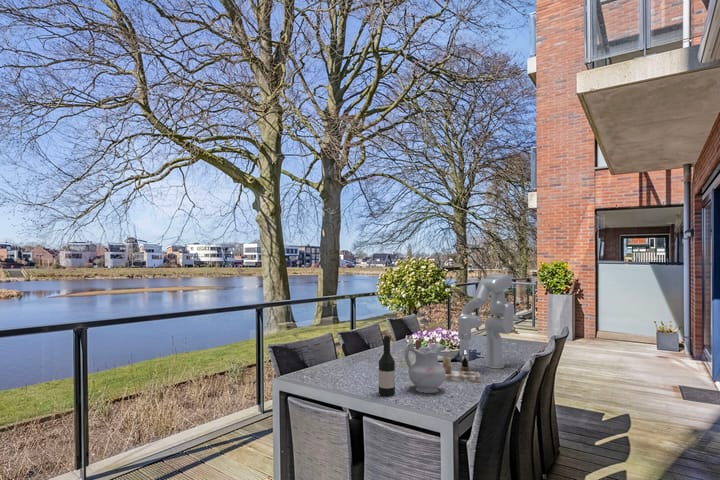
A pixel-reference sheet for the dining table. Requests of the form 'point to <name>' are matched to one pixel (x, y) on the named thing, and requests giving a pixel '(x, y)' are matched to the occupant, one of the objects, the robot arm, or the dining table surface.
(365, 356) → the dining table surface
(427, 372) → the ceramic pitcher
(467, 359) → the oak peg
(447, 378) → the board
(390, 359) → the wine bottle
